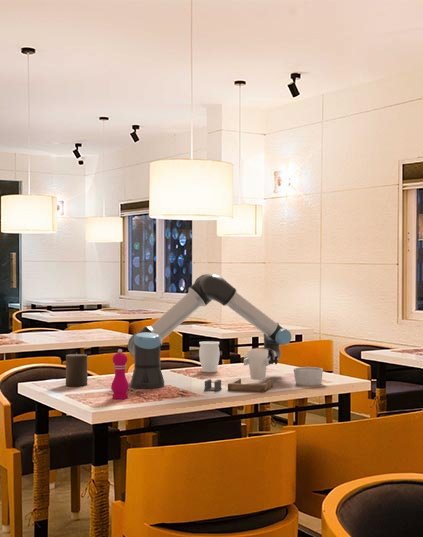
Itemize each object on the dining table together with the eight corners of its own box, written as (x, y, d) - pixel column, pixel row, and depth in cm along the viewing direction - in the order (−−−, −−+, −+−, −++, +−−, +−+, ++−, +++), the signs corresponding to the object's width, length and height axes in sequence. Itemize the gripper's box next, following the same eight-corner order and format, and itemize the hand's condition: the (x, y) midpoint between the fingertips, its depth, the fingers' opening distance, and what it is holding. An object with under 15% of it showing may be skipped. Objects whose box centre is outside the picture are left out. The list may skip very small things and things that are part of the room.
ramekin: (313, 387, 332) (313, 371, 332) (288, 384, 340) (288, 369, 340) (328, 383, 342) (328, 368, 342) (303, 381, 350) (303, 366, 350)
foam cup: (268, 377, 345) (268, 348, 345) (268, 380, 336) (268, 351, 336) (247, 377, 346) (247, 348, 346) (246, 380, 337) (246, 351, 337)
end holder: (264, 392, 319) (264, 385, 319) (227, 390, 324) (227, 383, 324) (272, 386, 334) (272, 379, 334) (237, 385, 339) (237, 378, 339)
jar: (196, 370, 388) (196, 341, 388) (216, 369, 391) (215, 340, 391) (202, 373, 378) (202, 343, 378) (222, 372, 381) (222, 342, 381)
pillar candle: (79, 387, 335) (79, 353, 335) (61, 386, 339) (61, 352, 339) (91, 384, 344) (91, 351, 344) (73, 383, 348) (74, 350, 348)
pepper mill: (129, 396, 310) (129, 348, 310) (128, 399, 303) (128, 349, 303) (112, 396, 310) (111, 348, 310) (110, 399, 303) (110, 350, 303)
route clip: (217, 391, 322) (217, 381, 322) (204, 390, 324) (204, 381, 324) (221, 389, 328) (221, 379, 328) (208, 388, 330) (208, 379, 330)
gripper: (289, 365, 355) (279, 372, 334) (244, 364, 362) (231, 370, 340) (289, 349, 355) (279, 355, 334) (244, 348, 362) (231, 353, 340)
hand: (255, 362), depth 337 cm, fingers closed on foam cup, 9 cm apart
